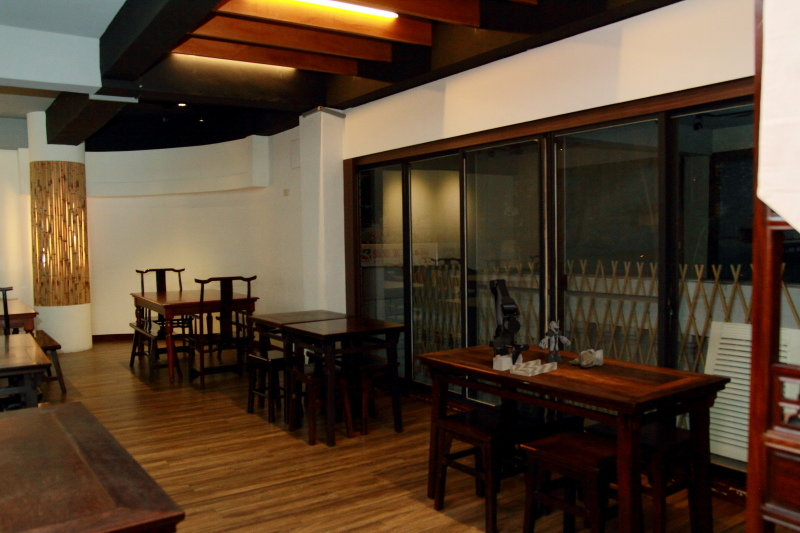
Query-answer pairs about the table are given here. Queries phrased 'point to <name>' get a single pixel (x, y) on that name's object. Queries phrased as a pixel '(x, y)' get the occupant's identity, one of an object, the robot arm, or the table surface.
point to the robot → (553, 342)
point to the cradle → (532, 368)
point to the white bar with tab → (505, 362)
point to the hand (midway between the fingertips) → (508, 364)
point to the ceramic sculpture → (589, 358)
